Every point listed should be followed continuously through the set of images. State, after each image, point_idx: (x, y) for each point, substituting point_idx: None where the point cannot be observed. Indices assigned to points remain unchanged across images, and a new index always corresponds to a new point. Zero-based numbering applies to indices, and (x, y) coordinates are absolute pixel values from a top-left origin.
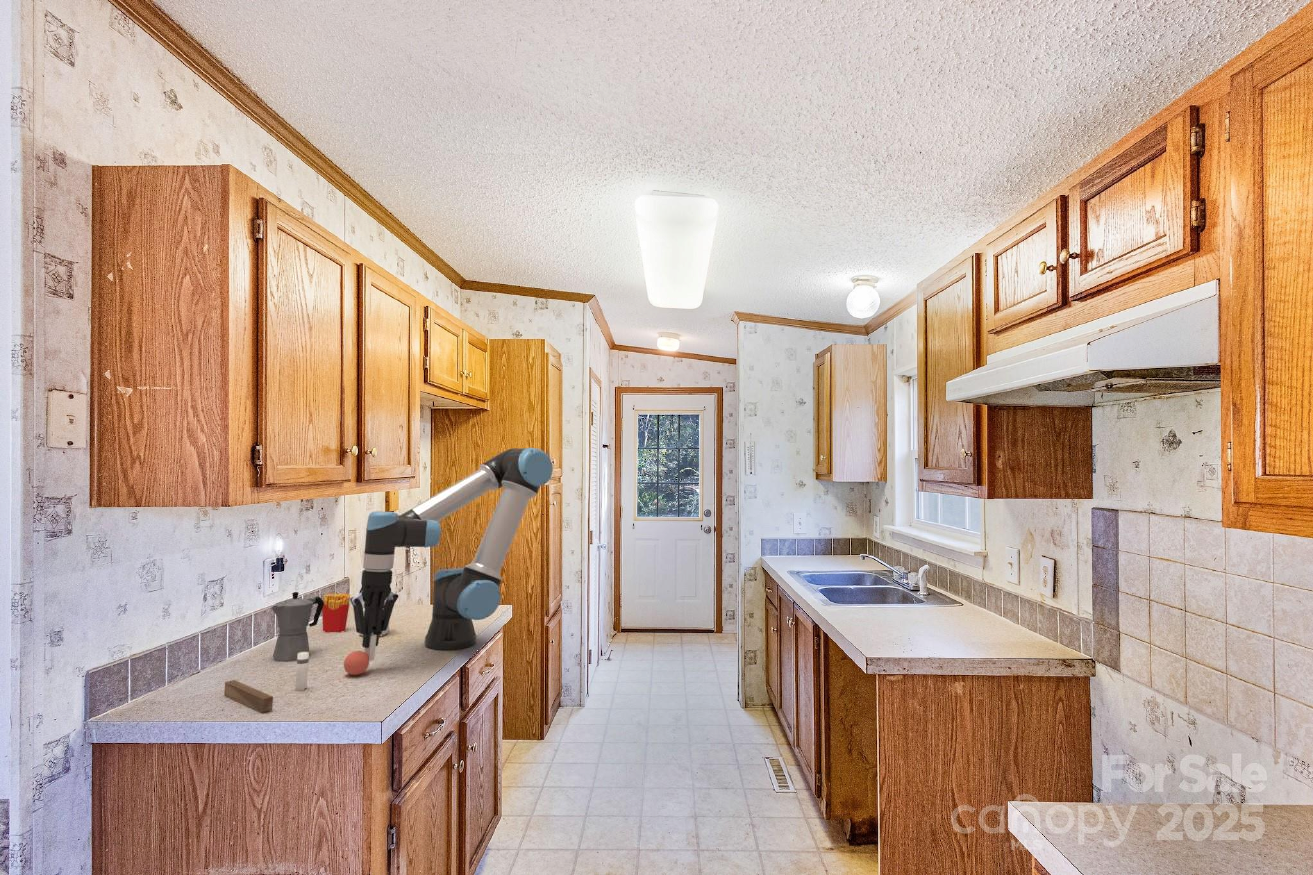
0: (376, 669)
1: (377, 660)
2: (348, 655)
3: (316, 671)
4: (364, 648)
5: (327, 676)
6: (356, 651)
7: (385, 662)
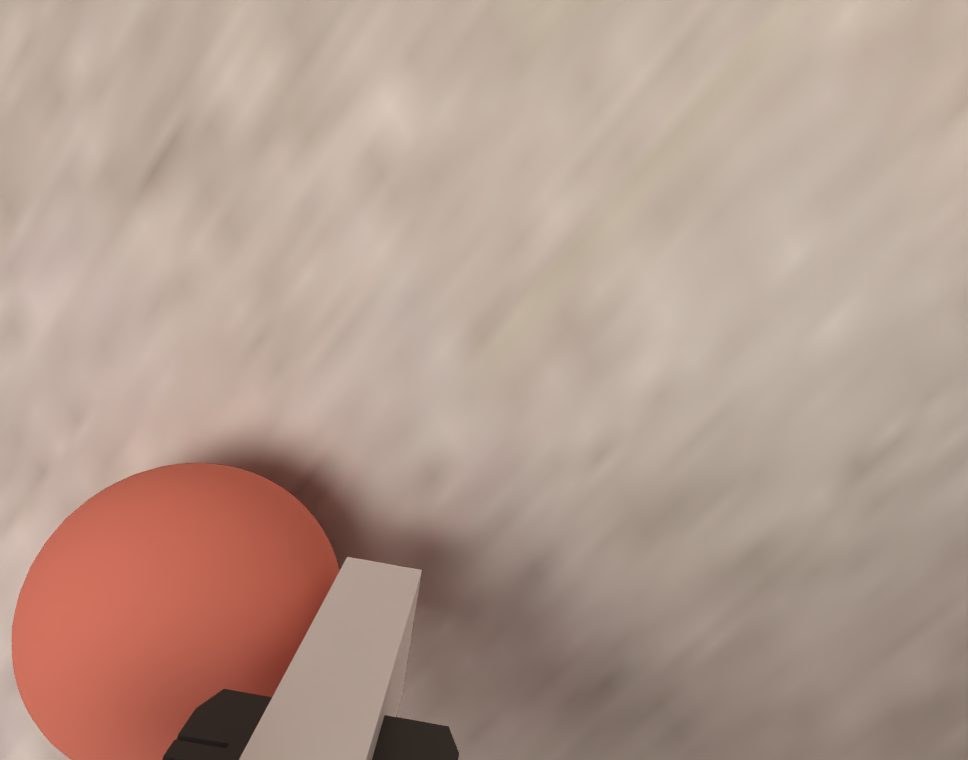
0: (493, 590)
1: (768, 332)
2: (22, 618)
3: (79, 79)
4: (305, 637)
5: (53, 345)
6: (89, 702)
7: (747, 479)
